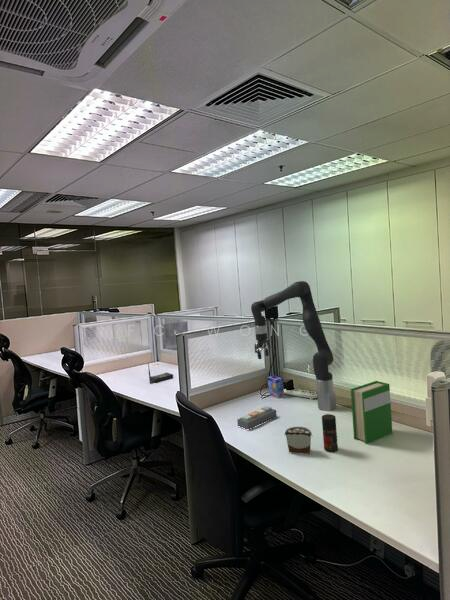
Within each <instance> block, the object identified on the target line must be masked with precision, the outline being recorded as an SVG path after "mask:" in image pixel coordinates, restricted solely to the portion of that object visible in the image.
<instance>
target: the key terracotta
mask: <svg viewBox="0 0 450 600" xmlns="http://www.w3.org/2000/svg"><path fill="white" fill-rule="evenodd" d="M247 415H249V416H252V418H254V419H255V418H257V417H259V413H256V412H255V411H252V412H249V413H248V414H247Z"/></svg>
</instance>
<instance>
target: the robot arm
mask: <svg viewBox="0 0 450 600" xmlns="http://www.w3.org/2000/svg"><path fill="white" fill-rule="evenodd" d="M295 298H299V300H300V302H301V305H302V322H303V323H302V324H303V325H304V328H305V331H306V333H307V334H308V336H309V337H310V338H311V340H313V342H314V343H315V346H316V348H317V352H316V353H314V354H313V356H312V367H313V373H314V375H315V382H316V395H317V408H318V409H319V410H321V411H333V410H335V409H336V408H337V403H336V402H337V400H336V399H337V398H336V391H334V382H333V381H334V380H333V373H332V372H330V371H329V366H331V365H332V364H333V362H334V355H333V353H332V352H333V351H332V350H331V347H330V345H329V343H328V341H327V339H326V335H325V333H324V330H323V326H322V323H321V320H320V317H319V314H318V312H317V308H316V305H315V302H314V299H313V295H312V291H311V286H310V285H309V283H308V282H307V281H306V280H300V281H295V282H293V283H292V284H290V285H289V286H287V287H286V288H284V289H283V290H281V291H279V292H276V293H273V294H271V295H269V296H267V297H265V298H264V299H261V300H258V301H255V302H253V303H252V304H251V306H250V307H251V308H250V310H251V314H252V316H253V320H254V332H255V334H254V335H255V341H257V343H254V353H256V355H257V359H258V360H262V358H263V357H262V351H263V349H264V354H265V355H264V356H265V357H269V356H270V355H269V354H270V353H269V350H270V349H271V343H270V341H271V340H270V339H269V337H268V329H267V321H266V317H265V316H264V315H263V314H262V312H265V311H267V310H269V309H271V308H272V309H273V308H274V307H277V306H278V305H281V304H282V303H283V302H285V301H287V300H291V299H295Z"/></svg>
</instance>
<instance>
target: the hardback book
mask: <svg viewBox="0 0 450 600" xmlns="http://www.w3.org/2000/svg"><path fill="white" fill-rule="evenodd" d="M390 389H391V387H390V383H387V382H383V381H378V380H375V381H371V382H369V383H366V384H362V385H358V386H356V387H352V388H350V398H351V400H350V401H351V415H352V416H351V417H352V429H353V439H354V440H361V441H363V442H364V444H365V445H369V444H371V443H373V442H375V441H377V440H381V439H383V438H385V437H387V436H390V435H392V434H393V424H392V422H393V421H392V406H391V403H392V402H391V392H390V391H391V390H390Z"/></svg>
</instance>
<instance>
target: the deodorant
mask: <svg viewBox="0 0 450 600" xmlns="http://www.w3.org/2000/svg"><path fill="white" fill-rule="evenodd" d="M321 424H322V437H323V438H322V439H323V450H324V452H327V453H336V452H338V450H339V447H338V435H337V434H338V433H337V420H336V415H334V414H329V413H327V414H324V415H322V416H321Z"/></svg>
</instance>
